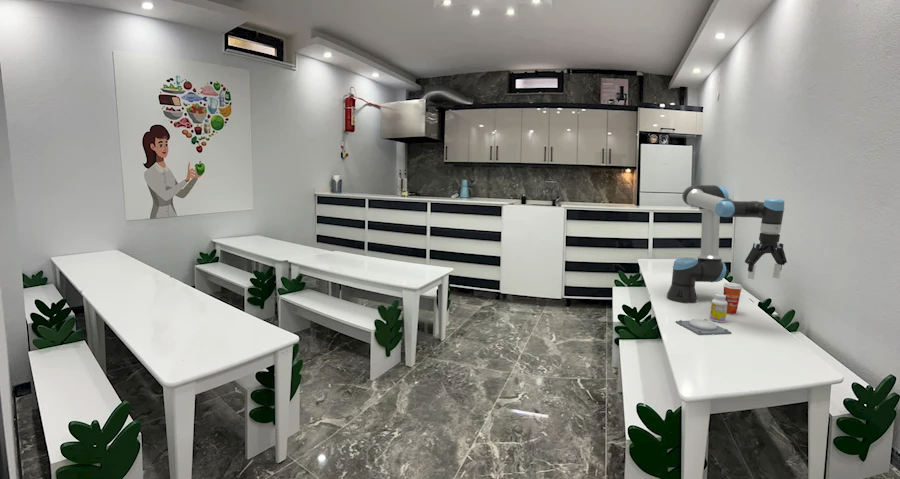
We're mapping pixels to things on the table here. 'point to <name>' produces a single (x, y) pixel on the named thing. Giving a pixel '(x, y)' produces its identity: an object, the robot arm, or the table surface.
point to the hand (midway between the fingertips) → (763, 278)
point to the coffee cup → (732, 296)
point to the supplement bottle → (718, 308)
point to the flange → (703, 327)
